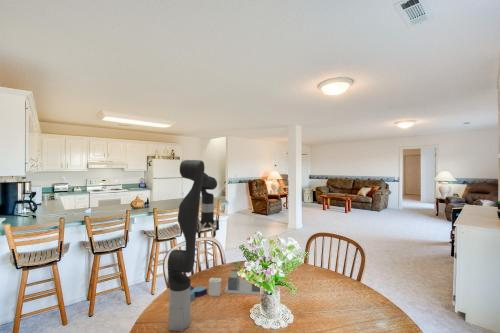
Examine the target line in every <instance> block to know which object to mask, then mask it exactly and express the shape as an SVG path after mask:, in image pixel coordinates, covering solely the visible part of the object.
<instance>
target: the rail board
mask: <svg viewBox="0 0 500 333" xmlns="http://www.w3.org/2000/svg"><path fill="white" fill-rule="evenodd" d="M238 270H239V269H230V273H229V275H228V279H227V282H226V285H225V288H224V293H225V294H227V293H228V294H238V295H239V294H241V295H258V296H259V295H260V288H259V287H257V286H255V285H254V284H252V283H249V282H247V281H246V280H245V279H246V278H245V279H244V278H240V276H238V274H237V271H238ZM260 296H261V295H260Z"/></svg>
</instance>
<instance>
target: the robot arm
mask: <svg viewBox="0 0 500 333" xmlns="http://www.w3.org/2000/svg"><path fill="white" fill-rule="evenodd" d="M179 174H180V176H181V177H182V178H184V179H187V180H190V181H193V184H192V185H191V186H192V187H191V188H190V189H189V191H188V193H187V194H186V195H185V196H184V198H183V199H182V200H181V202H180V204H179V206H178V213H177V222H178V226H179V228H180V229H181V231H182V234H183V237H184V240H185V249H173V250H171V251H170V252H169V254H168V258H167V280H168V281H167V282H168V286H169V287H168V331H171V332H172V331H173V332H174V331H175V332H183V331H184V330H185V329H187V328H188V327H189V326H190V325H191V302H190V289H191V286H192V285H191V284H192V281H191V278H190V277H189V276H188V275H186V274H189V273H192V271H193V269H194V266H195V262H196V261H195V260H196V259H195V258H196V237H198V238H199V239H201V233H202V232H201V231H202V230H203V228H205V229H206V228H208V229H210V228H211V229H212V237H213V238H215V237H216V236H217V235H216V234H217V231H219V230H220V221H219V219H215V218H214V216H215V215H214V214H215V213H214V212H215V207H214V206H215V205H214V199H215V197H214V194H213V193H209V192H208V191H207V190H215V189H216V188H217V186H218V181H217V179H216V178H215V177H213V176H210V175H208V174H207V173H205V163H204V161H203V160H200V159H199V160H197V159H185V160H182V161H181V163H180V165H179ZM200 200H201V209H200ZM200 212H201V213H200ZM199 213H200V220H199ZM199 224H201V225H200V226H199ZM214 224H216V225H215V226H216V227H215V226H214ZM198 226H199V227H198ZM185 273H186V274H185Z"/></svg>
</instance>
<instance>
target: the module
mask: <svg viewBox="0 0 500 333" xmlns="http://www.w3.org/2000/svg"><path fill="white" fill-rule="evenodd" d="M221 294H222V278H221V277H210V278H209V280H208V297H211V296H212V297H220V296H221Z"/></svg>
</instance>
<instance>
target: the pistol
mask: <svg viewBox="0 0 500 333" xmlns="http://www.w3.org/2000/svg"><path fill="white" fill-rule="evenodd" d="M206 294H208V288H207V287H206V286H204V285H199V286H196V287H193V286H192V285H191V289H190V303H191V302H193V301H194V300H195V297H198V298H199V297H201V296H204V295H206Z"/></svg>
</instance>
